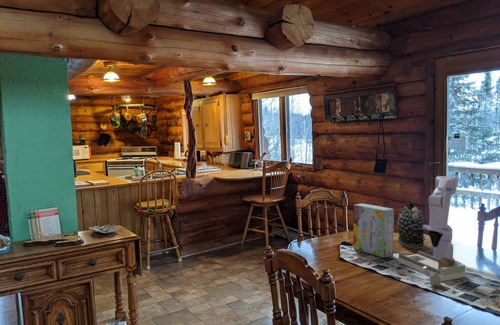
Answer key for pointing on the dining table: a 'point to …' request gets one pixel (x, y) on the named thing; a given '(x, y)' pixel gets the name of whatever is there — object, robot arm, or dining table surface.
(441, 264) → the walnut block
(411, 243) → the pine cone
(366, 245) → the snack box
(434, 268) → the trap channel
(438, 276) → the lighter
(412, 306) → the dining table surface
